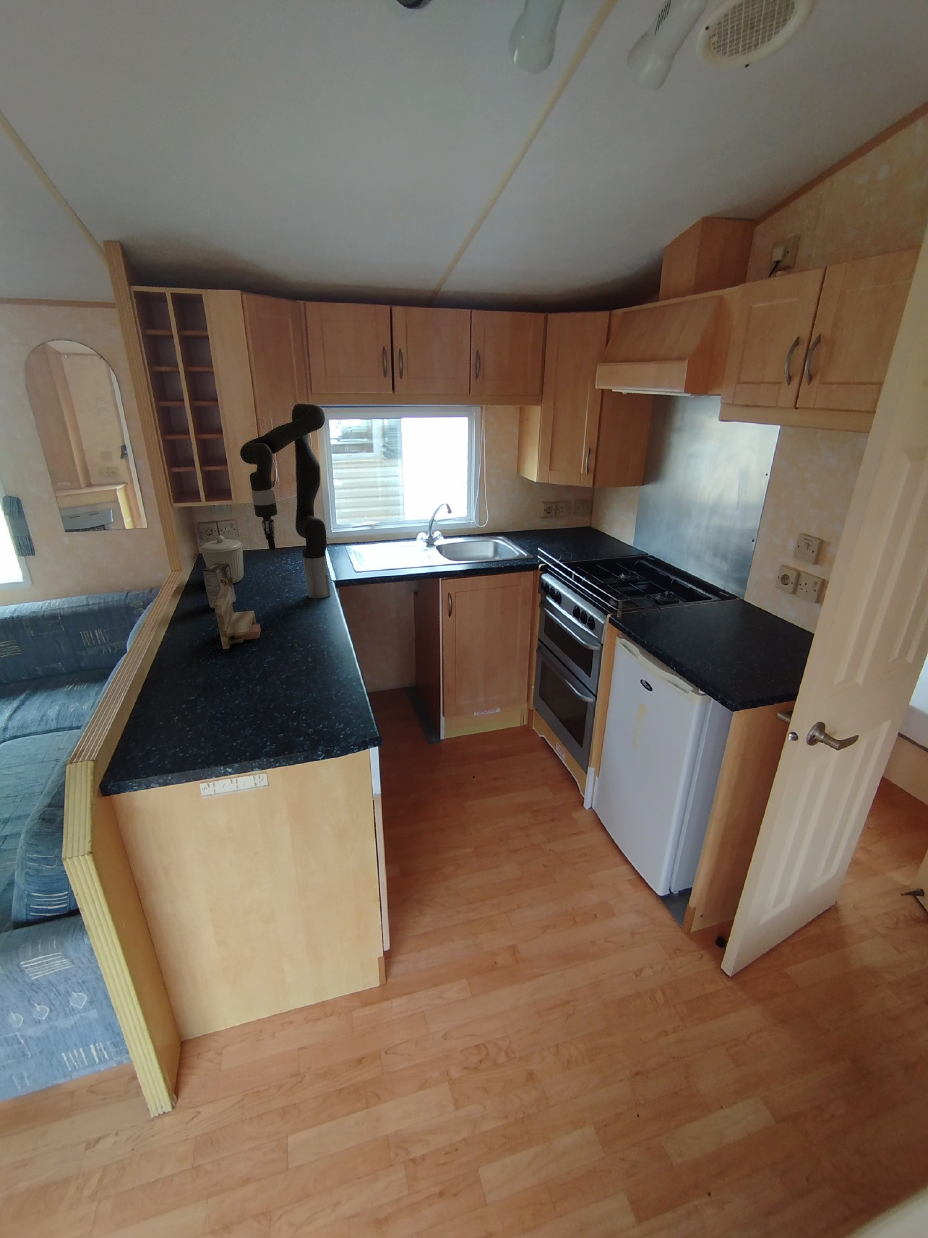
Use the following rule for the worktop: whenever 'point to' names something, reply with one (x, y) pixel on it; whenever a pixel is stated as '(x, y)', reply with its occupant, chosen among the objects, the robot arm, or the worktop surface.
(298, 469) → the robot arm
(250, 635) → the tan cardboard carton
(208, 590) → the coffee box
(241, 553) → the canister
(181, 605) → the worktop surface
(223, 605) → the nook
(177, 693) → the worktop surface
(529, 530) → the worktop surface
